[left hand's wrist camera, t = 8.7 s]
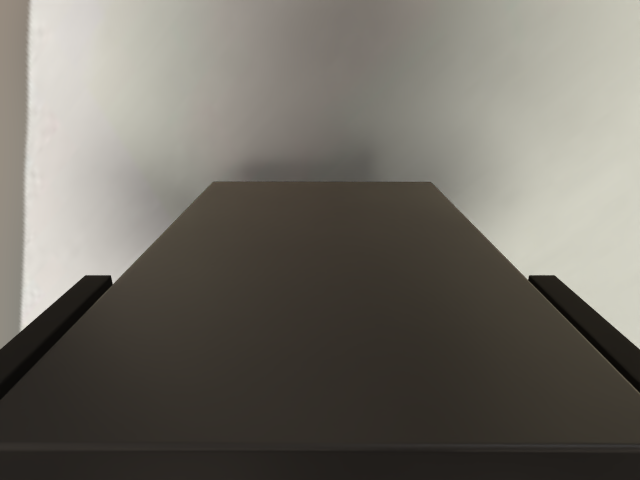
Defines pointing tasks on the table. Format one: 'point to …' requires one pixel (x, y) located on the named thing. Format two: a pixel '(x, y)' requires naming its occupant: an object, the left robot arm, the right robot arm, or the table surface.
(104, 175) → the table surface
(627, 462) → the box
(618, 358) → the left robot arm
